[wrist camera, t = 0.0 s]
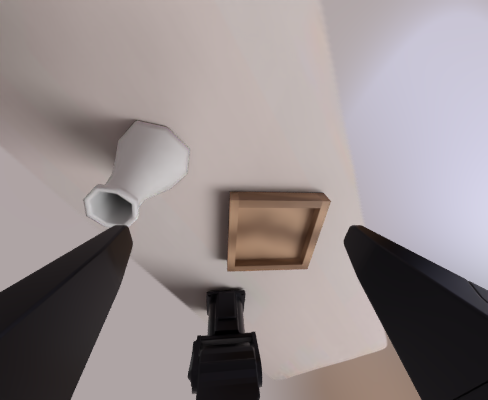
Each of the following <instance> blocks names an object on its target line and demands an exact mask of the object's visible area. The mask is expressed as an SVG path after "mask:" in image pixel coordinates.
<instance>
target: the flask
mask: <svg viewBox="0 0 488 400" xmlns="http://www.w3.org/2000/svg"><path fill="white" fill-rule="evenodd" d="M189 153H190V149H189V148H188V147H187V146H186V145H185V144H184V143H183V142H182V141H181V140H180V139H179V138H178V137H177V136H176V135H175V134H174V133H173V132H172V131H171V130H170V129H169V128H168V127H164V126H160V125H155V124H151V123H146V122H141V121H137V120H136V121H135V122H134V124H133V125H132V126H131V127H130V128H129V129H128V130H127V131H126V132H125V133H124V135H123V136H122V137H121V138H120V139H119V140H118V144H117V151H116V158H115V163H114V167H113V171H112V174H111V176H110V178H109V180H108V181H107V183H106V184H105V185H102V184H98V185H96V186H95V187H94V188H93V189H92V191H91V192H90V193H89V194H88V195H87V196H86V197H85V198H84V199H83V201H84V206H85V211H86V216H87V217H89V218H91V219H92V220H94V221H96V222H97V223H99V224H101V225H102V226H104V227H109V228H111V227H112V226H114V225H126V226H128V227H129V226H130V225H131V224H132V223H133V222H134V221H135V220H137V218H138V216H139V207H140V205H141V204H142V202H143V201H145V200H147V199H149V198H151V197H153V196H155V195H157V194H159V193H162V192H165V191H167V190H169V189H171V188H172V187H173V186H174V185H175V184H176V183H177V182H179V181H180V180H181V179H182V178H183V177H184V176H185V175H186V174H187V172H188V162H189Z"/></svg>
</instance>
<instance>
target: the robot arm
mask: <svg viewBox="0 0 488 400" xmlns="http://www.w3.org/2000/svg"><path fill="white" fill-rule="evenodd" d="M132 246H133V241H132V238H131V234H130V231H129V228H128V226H126V225H114V226H112V227H111V228H109V229H107V230H106V231H104V232H102V233H100V234H99V235H97V236H95V237H94V238H92V239H90V240H89V241H87V242H85V243H83V244H82V245H80V246H78V247H77V248H75V249H73V250H72V251H70V252H68V253H66V254H65V255H63V256H61V257H60V258H58V259H56V260H55V261H53V262H51V263H49V264H48V265H46V266H44V267H43V268H41V269H39V270H37V271H36V272H34V273H32V274H30V275H29V276H27V277H25V278H24V279H22V280H20V281H19V282H17V283H15V284H13V285H12V286H10V287H8V288H7V289H5V290H3V291H2V292H0V400H71V397H72V395H73V392H74V390H75V388H76V386H77V383H78V381H79V379H80V377H81V374H82V372H83V370H84V368H85V365H86V363H87V361H88V358H89V356H90V354H91V352H92V349H93V347H94V345H95V342H96V340H97V338H98V336H99V333H100V331H101V329H102V327H103V324H104V322H105V320H106V317H107V315H108V313H109V311H110V308H111V306H112V303H113V301H114V299H115V297H116V295H117V292H118V290H119V287H120V285H121V282H122V279H123V276H124V273H125V269H126V266H127V263H128V260H129V256H130V253H131V250H132ZM344 246H345V248H346V251H347V253H348V256H349V258H350V261H351V263H352V265H353V268H354V270H355V273H356V275H357V277H358V279H359V281H360V283H361V285H362V287H363V289H364V291H365V293H366V295H367V297H368V299H369V301H370V302H371V304H372V306H373V308H374V310H375V312H376V314H377V316H378V318H379V320H380V321H381V323H382V325H383V327H384V329H385V331H386V333H387V335H388V337H389V339H390V340H391V342H392V344H393V346H394V348H395V350H396V352H397V354H398V356H399V358H400V360H401V362H402V363H403V365H404V367H405V369H406V371H407V373H408V375H409V377H410V378H411V381H412V382H413V384H414V386H415V388H416V390H417V392H418V394H419V396H420V397H421V400H488V290H486V289H484V288H482V287H480V286H478V285H476V284H474V283H472V282H470V281H467V280H466V279H464V278H462V277H460V276H458V275H457V274H454V273H453V272H451V271H449V270H447V269H445V268H443V267H441V266H439V265H437V264H435V263H433V262H431V261H429V260H427V259H426V258H423V257H422V256H420V255H418V254H416V253H414V252H412V251H410V250H408V249H406V248H404V247H402V246H400V245H398V244H396V243H395V242H393V241H390V240H389V239H387V238H385V237H383V236H381V235H379V234H377V233H375V232H373V231H371V230H369V229H367V228H366V227H364V226H361V225H352V226H350V228H349V230H348V232H347V234H346V236H345V239H344ZM206 297H207V315H208V316H209V319H208V336H201V335H199V336H197V340H196V341H194V342H193V352H192V357H191V362H190V367H189V371H188V379H189V380H190V382H191V386H192V394H197V395H196V400H259V398H260V392H259V387H262V367H261V359H260V354H259V349H258V344H257V339H256V334H255V332H251V333H245V330H244V319H243V311H244V302H245V291H244V290H238V291H214V292H207V295H206Z"/></svg>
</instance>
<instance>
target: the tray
mask: <svg viewBox="0 0 488 400" xmlns="http://www.w3.org/2000/svg"><path fill="white" fill-rule="evenodd" d="M330 202H331V201H330V200H329V199H328V197H327V196H326V195H325V194H324V193H287V192H230V198H229V225H228V252H227V271H259V270H292V269H308V266H309V263H310V260H311V257H312V254H313V251H314V248H315V246H316V243H317V240H318V237H319V234H320V231H321V228H322V225H323V223H324V220H325V217H326V214H327V211H328V208H329V205H330Z"/></svg>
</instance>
